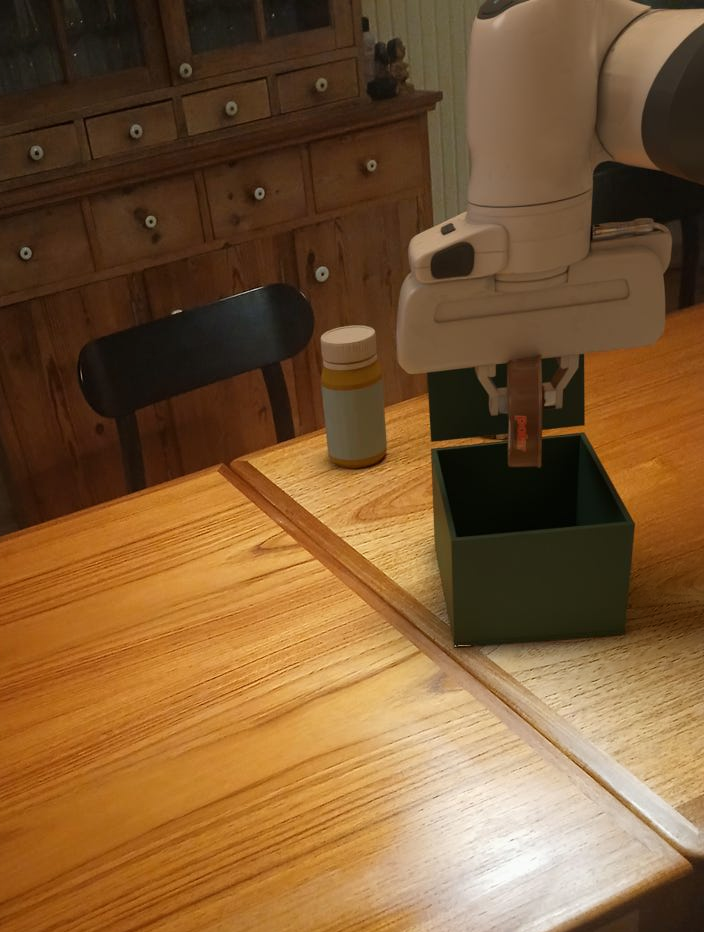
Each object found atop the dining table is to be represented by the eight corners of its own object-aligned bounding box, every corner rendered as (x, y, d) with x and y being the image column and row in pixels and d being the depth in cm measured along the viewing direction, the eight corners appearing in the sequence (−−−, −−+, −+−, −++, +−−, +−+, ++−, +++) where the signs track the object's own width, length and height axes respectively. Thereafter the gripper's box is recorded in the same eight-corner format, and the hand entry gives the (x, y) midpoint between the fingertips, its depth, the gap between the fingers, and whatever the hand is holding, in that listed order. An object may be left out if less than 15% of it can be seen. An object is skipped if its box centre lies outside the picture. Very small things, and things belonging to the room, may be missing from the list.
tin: (541, 485, 77) (551, 381, 72) (499, 485, 77) (506, 381, 73) (539, 410, 88) (547, 316, 84) (502, 410, 89) (508, 316, 84)
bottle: (324, 451, 122) (311, 331, 113) (379, 441, 122) (371, 320, 113) (334, 474, 116) (322, 349, 108) (393, 463, 116) (385, 337, 108)
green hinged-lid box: (454, 647, 84) (451, 540, 78) (434, 545, 99) (430, 448, 93) (625, 634, 82) (635, 523, 76) (579, 531, 97) (584, 432, 91)
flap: (425, 344, 90) (425, 344, 90) (431, 442, 93) (430, 441, 93) (584, 325, 88) (583, 325, 88) (584, 425, 90) (583, 424, 91)
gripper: (662, 204, 74) (646, 381, 82) (389, 243, 78) (398, 409, 85) (687, 223, 69) (668, 409, 77) (394, 263, 72) (403, 438, 80)
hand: (524, 409), depth 81 cm, fingers closed on tin, 3 cm apart
